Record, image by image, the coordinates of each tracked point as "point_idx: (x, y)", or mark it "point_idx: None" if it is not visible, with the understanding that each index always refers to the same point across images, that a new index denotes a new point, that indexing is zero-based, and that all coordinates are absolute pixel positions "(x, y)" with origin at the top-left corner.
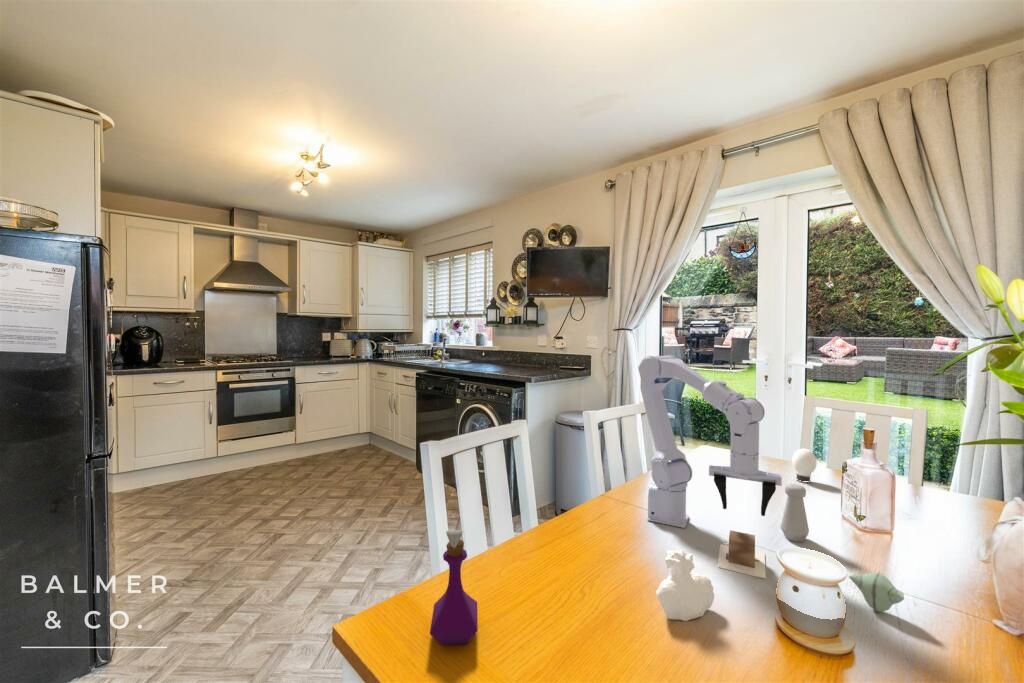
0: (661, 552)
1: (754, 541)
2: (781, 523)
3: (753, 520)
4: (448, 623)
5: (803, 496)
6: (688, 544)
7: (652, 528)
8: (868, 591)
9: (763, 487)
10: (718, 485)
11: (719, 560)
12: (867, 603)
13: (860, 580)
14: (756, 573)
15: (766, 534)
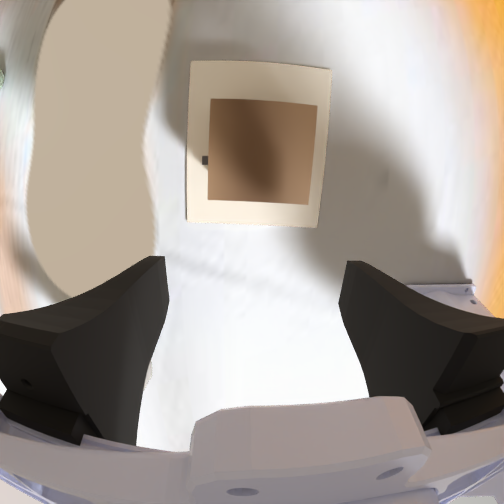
0: (464, 115)
1: (211, 132)
2: (147, 372)
3: (221, 396)
4: None
5: None
6: (406, 189)
7: (472, 247)
8: None
9: (51, 342)
10: (476, 319)
11: (326, 108)
12: (3, 75)
13: None
14: (216, 74)
15: (188, 344)
